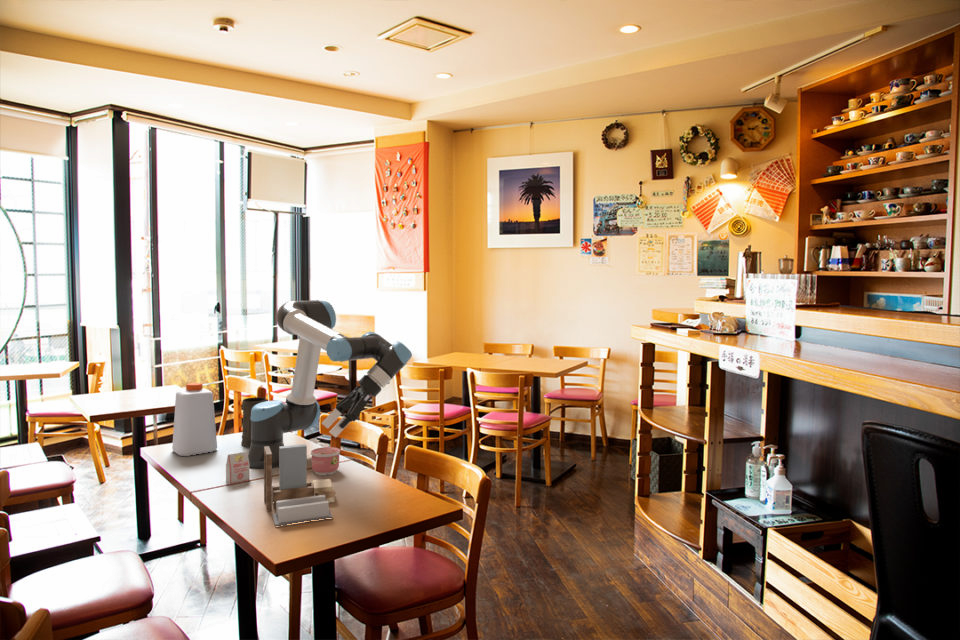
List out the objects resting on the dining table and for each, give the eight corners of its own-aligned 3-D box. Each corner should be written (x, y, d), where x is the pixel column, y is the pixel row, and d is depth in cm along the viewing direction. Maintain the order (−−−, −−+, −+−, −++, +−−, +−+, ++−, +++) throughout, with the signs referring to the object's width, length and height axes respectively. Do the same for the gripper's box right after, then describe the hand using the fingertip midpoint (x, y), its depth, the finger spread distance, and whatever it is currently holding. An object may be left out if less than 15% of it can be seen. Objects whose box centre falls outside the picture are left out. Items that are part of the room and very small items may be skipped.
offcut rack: (330, 492, 194) (330, 440, 193) (335, 502, 184) (335, 447, 184) (264, 500, 185) (263, 446, 184) (266, 511, 176) (266, 454, 175)
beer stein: (237, 442, 254) (237, 397, 252) (261, 438, 261) (262, 395, 258) (249, 452, 242) (249, 406, 240) (274, 448, 249) (275, 403, 247)
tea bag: (226, 481, 202) (225, 453, 202) (245, 477, 207) (245, 450, 206) (229, 484, 200) (229, 455, 199) (249, 480, 204) (249, 452, 204)
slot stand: (327, 508, 179) (327, 493, 179) (332, 519, 171) (332, 503, 171) (272, 516, 172) (272, 500, 172) (275, 527, 164) (275, 510, 164)
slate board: (305, 499, 187) (305, 444, 186) (306, 502, 184) (306, 446, 183) (279, 502, 183) (279, 446, 182) (280, 505, 181) (280, 448, 180)
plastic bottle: (208, 444, 250) (208, 379, 249) (220, 451, 239) (219, 384, 238) (169, 450, 240) (169, 383, 239) (180, 458, 229) (179, 388, 228)
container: (311, 477, 208) (311, 455, 208) (310, 469, 218) (310, 448, 218) (341, 475, 212) (341, 453, 211) (338, 466, 222) (338, 446, 221)
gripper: (392, 394, 182) (344, 446, 177) (372, 383, 205) (329, 429, 199) (376, 378, 180) (326, 431, 174) (357, 369, 203) (313, 415, 197)
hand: (328, 430), depth 187 cm, fingers open, 13 cm apart
